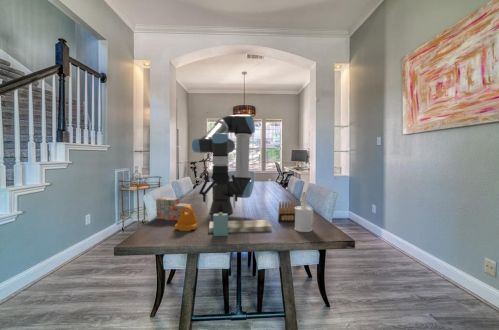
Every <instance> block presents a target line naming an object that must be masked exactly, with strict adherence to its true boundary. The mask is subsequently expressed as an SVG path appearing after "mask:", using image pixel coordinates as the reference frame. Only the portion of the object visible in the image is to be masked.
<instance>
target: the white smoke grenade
mask: <svg viewBox="0 0 499 330" xmlns="http://www.w3.org/2000/svg"><path fill="white" fill-rule="evenodd" d="M299 203H300V205H299V206H298V205H296V207H295V222H294V228H293V229H294V230H295V231H297V232H300V233H310V232H313V226H312V225H313V224H314V209H313V207H312V206H310V205H309V204H308V202H307V193H306V192H305V191H302V192H301V196H300V198H299Z"/></svg>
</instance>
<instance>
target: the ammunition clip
mask: <svg viewBox="0 0 499 330" xmlns="http://www.w3.org/2000/svg"><path fill="white" fill-rule="evenodd" d="M278 206H279V207H278V215H277V217H278V218H277V222H278V223H295V207H297V202H296V201H294V203H293V201H291V202H290V201H288V202H287V201H285V202H284V201H282V203H281V201H279V203H278Z"/></svg>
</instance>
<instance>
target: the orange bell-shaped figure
mask: <svg viewBox="0 0 499 330" xmlns="http://www.w3.org/2000/svg"><path fill="white" fill-rule="evenodd" d="M185 209H187V210H188V211H189V213H187V212H186V211H185ZM176 222H177V223H175V225H174V230H179V231H181V232H191V231H192V230H196V229H197V228H198V226H199V221H198V219H197V215H196V213H195V211H194V207H193V206H192V207H191V206H190V205H186V206H184V207H183V208H182V209H181V214H180V217H179V219H178V221H176Z"/></svg>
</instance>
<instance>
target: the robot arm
mask: <svg viewBox="0 0 499 330" xmlns="http://www.w3.org/2000/svg"><path fill="white" fill-rule="evenodd" d="M255 130H256V125H255V121H254V117H253V115H250V114H235V115H234V114H230V115H225V116H223V117H221V118H220V119H218V120H217V121H215V122H214V125H213V126H212V127H211V128H210V130H208V131H207V132H206V133H205V134H204V135H203V136H202V137H200V138H199V137H198V138H194V139H193V140H192V142H191V148H192V151H193V152H194V153H199V154H209V153H210V154H211V153H212V175H211V174H210V175H209V174H206V176H205V181H204V182H203V185H202V186H201V189H200V191H199V195H202V202H203V203H205V206H204V207H205V210H207V209H208V193H209V191H210V190H211V189H212V191H211V192H212V202H211V205H210V209H209V213H210V214H211V215H214V214H219V213H223V214H224V213H228V215H231V214H233V213H234V209H236V202H238V198H241V199H246V198H248V199H249V198H251V196H252V194H253V189H254V180H253V179H252V176H251V175H250V174H249V172H250V171H249V168H250V167H249V166H250V141H251V140H250V139H251V137H252V136H253V134H254V133H255V132H256V131H255ZM228 134H234V137H235V138H236V144H235V141H234V140H233V139H231V138H229V135H228ZM235 149H236V150H235ZM234 150H235V174H230V175H229V166H228V164H229V154H230V153H233V152H234ZM211 179H212V182H211V183H210V185H208V187H207V189H206V185H207V184H208V182H209V181H210V180H211ZM204 189H206V190H204ZM231 198H233V199H232V201H233V204H232V202H231Z"/></svg>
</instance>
